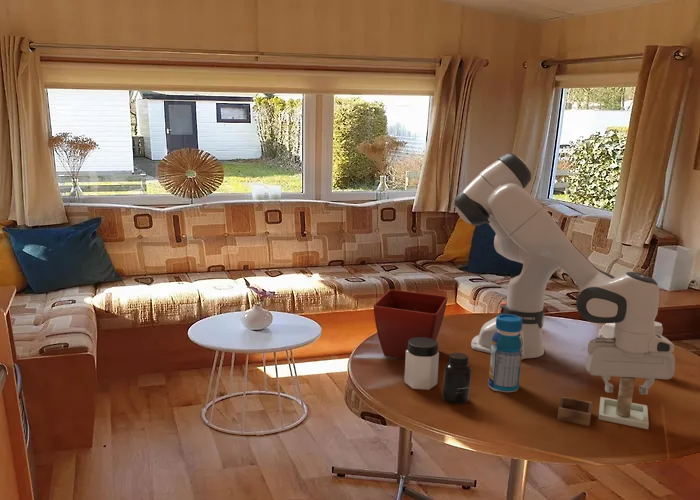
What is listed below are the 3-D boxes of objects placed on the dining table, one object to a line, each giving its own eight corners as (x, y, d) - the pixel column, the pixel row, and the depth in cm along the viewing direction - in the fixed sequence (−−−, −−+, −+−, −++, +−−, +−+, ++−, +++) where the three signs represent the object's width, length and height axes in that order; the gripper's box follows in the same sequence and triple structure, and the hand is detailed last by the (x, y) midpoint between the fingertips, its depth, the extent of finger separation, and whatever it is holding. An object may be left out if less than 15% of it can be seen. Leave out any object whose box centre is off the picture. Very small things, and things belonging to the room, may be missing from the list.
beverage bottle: (503, 396, 163) (510, 324, 159) (480, 384, 170) (486, 315, 166) (525, 390, 167) (532, 319, 163) (502, 378, 174) (509, 310, 170)
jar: (442, 387, 167) (445, 345, 165) (416, 392, 164) (419, 349, 161) (424, 374, 175) (426, 334, 173) (399, 379, 172) (401, 338, 169)
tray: (598, 421, 151) (599, 414, 151) (599, 403, 161) (600, 396, 161) (647, 431, 147) (648, 424, 146) (646, 412, 157) (647, 405, 156)
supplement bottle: (462, 407, 156) (466, 362, 154) (437, 400, 160) (440, 356, 157) (472, 397, 162) (476, 354, 159) (448, 391, 165) (451, 348, 163)
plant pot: (433, 369, 180) (436, 313, 176) (370, 359, 185) (372, 305, 182) (444, 347, 197) (448, 296, 194) (387, 338, 203) (389, 289, 200)
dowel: (615, 415, 153) (620, 378, 151) (616, 410, 156) (620, 373, 154) (630, 418, 152) (634, 380, 150) (629, 413, 155) (634, 375, 153)
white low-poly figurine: (598, 348, 209) (637, 346, 196) (593, 323, 210) (632, 319, 197) (614, 344, 214) (654, 341, 201) (609, 319, 215) (648, 315, 202)
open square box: (556, 421, 150) (558, 408, 150) (559, 408, 157) (561, 396, 156) (589, 428, 148) (590, 414, 147) (590, 415, 154) (592, 402, 153)
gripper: (593, 341, 147) (586, 395, 150) (681, 346, 146) (673, 400, 149) (585, 332, 153) (579, 384, 156) (669, 337, 152) (662, 389, 155)
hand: (625, 392), depth 153 cm, fingers open, 7 cm apart
